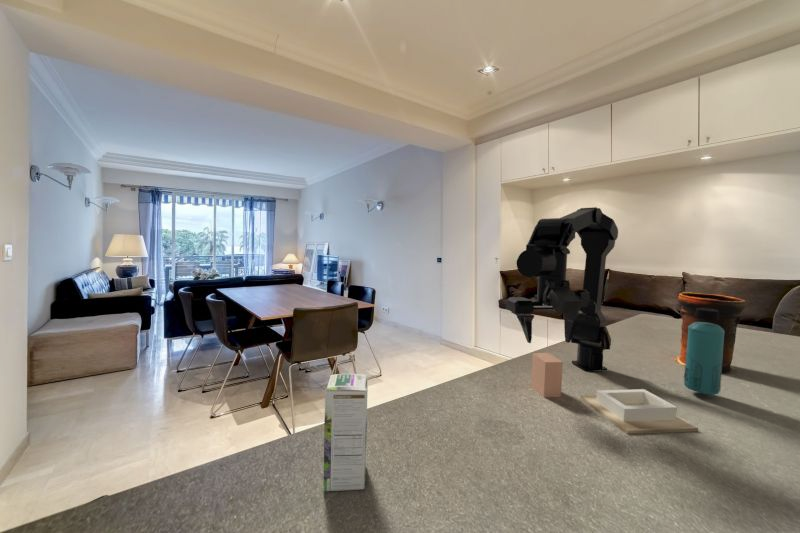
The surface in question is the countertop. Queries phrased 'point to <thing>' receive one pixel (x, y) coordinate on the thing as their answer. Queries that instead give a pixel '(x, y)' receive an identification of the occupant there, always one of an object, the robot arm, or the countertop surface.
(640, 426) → the socket base
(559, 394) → the terracotta peg
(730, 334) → the vessel
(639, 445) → the countertop surface
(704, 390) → the beverage bottle
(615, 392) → the socket collar
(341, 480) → the syrup box
